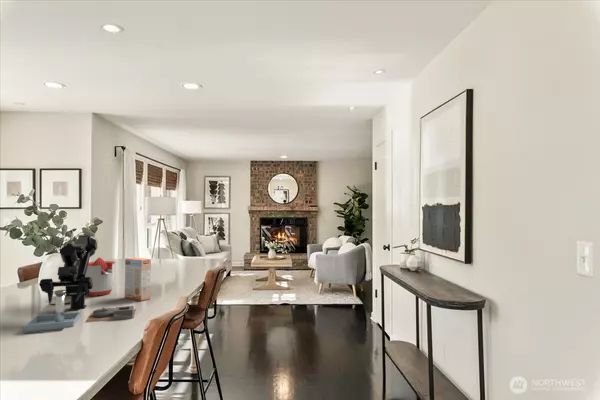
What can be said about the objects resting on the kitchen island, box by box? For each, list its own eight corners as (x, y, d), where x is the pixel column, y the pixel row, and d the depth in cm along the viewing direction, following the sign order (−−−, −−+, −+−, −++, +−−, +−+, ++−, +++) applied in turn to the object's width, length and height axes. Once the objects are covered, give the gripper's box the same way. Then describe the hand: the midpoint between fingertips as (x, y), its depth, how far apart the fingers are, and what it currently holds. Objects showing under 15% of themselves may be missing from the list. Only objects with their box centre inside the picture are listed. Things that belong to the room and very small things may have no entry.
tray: (36, 322, 153) (36, 315, 153) (80, 319, 158) (81, 312, 158) (24, 333, 140) (24, 325, 140) (73, 329, 145) (73, 321, 145)
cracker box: (150, 299, 194) (151, 258, 194) (140, 301, 189) (141, 260, 189) (134, 295, 201) (135, 256, 202) (123, 298, 196) (124, 258, 197)
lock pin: (60, 322, 151) (61, 289, 152) (67, 323, 150) (68, 290, 150) (51, 324, 147) (52, 291, 148) (58, 326, 146) (59, 292, 146)
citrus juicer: (94, 299, 194) (95, 260, 194) (76, 294, 203) (77, 257, 204) (122, 293, 207) (123, 257, 208) (104, 289, 216) (105, 255, 217)
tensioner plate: (91, 315, 164) (91, 304, 164) (136, 311, 170) (136, 301, 171) (84, 325, 150) (84, 313, 150) (133, 320, 156) (133, 309, 157)
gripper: (41, 259, 155) (30, 292, 144) (92, 257, 161) (85, 289, 150) (47, 275, 162) (37, 307, 152) (95, 273, 168) (89, 304, 157)
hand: (62, 301), depth 152 cm, fingers open, 9 cm apart
